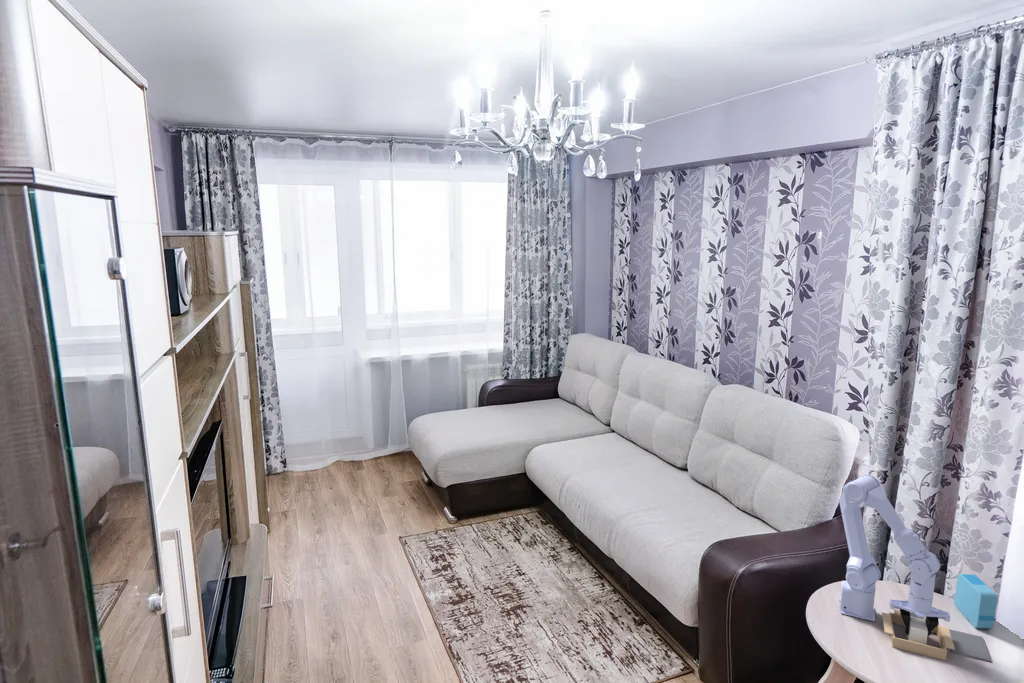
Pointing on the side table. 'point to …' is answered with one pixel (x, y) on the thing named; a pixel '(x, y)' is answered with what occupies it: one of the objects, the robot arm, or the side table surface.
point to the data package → (975, 601)
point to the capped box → (917, 629)
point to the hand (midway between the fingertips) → (916, 635)
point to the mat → (969, 645)
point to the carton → (916, 647)
